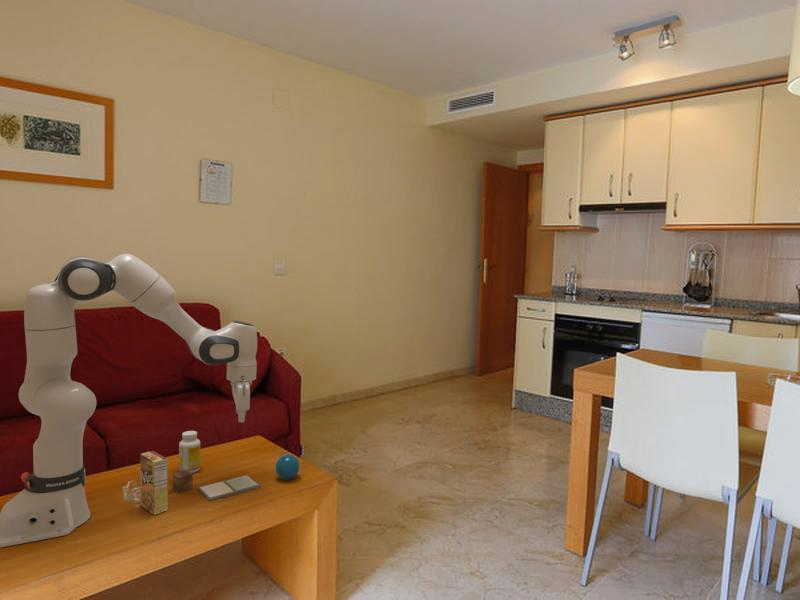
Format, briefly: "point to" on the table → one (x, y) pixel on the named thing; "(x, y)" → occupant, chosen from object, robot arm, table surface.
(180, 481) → the walnut token
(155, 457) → the candy box
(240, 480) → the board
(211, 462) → the table surface
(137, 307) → the robot arm
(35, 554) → the table surface
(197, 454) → the supplement bottle
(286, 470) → the ball
